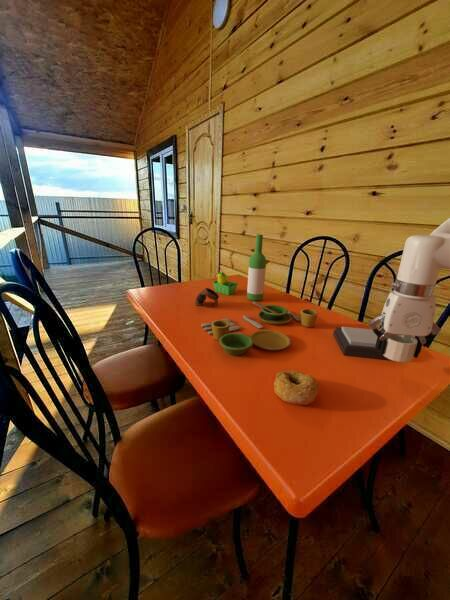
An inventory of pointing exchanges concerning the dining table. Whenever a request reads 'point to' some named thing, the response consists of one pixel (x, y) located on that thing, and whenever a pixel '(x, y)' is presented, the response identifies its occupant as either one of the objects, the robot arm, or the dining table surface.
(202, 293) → the dark brown arch
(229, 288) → the fruit basket
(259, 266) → the wine bottle
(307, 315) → the tableware set
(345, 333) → the weigh platform
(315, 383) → the bagel
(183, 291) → the dining table surface
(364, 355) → the scale
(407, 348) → the bowl
